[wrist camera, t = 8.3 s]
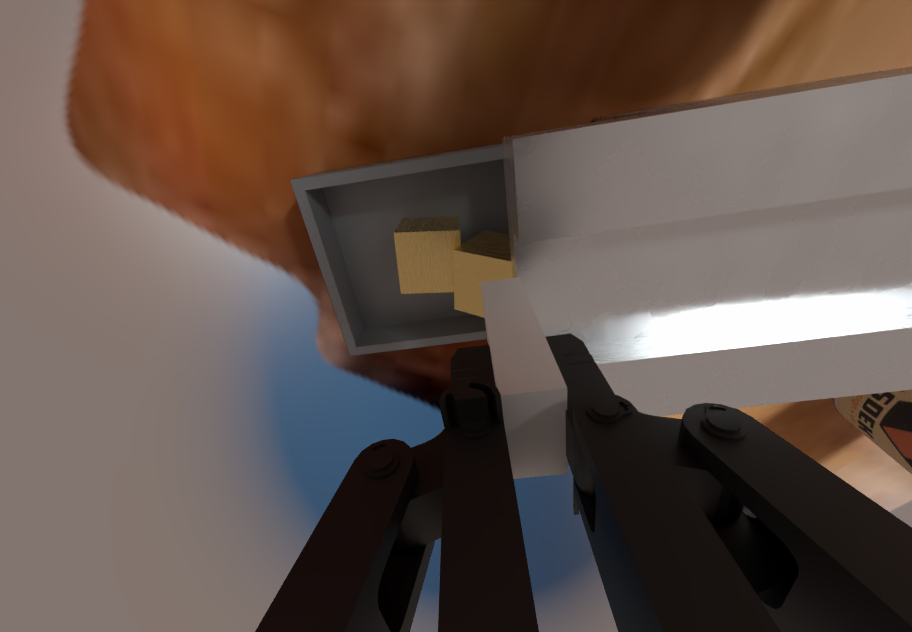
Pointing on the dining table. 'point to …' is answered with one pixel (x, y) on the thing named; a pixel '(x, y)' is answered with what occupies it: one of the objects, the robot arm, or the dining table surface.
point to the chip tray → (373, 247)
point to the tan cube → (479, 268)
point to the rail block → (727, 243)
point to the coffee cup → (883, 421)
